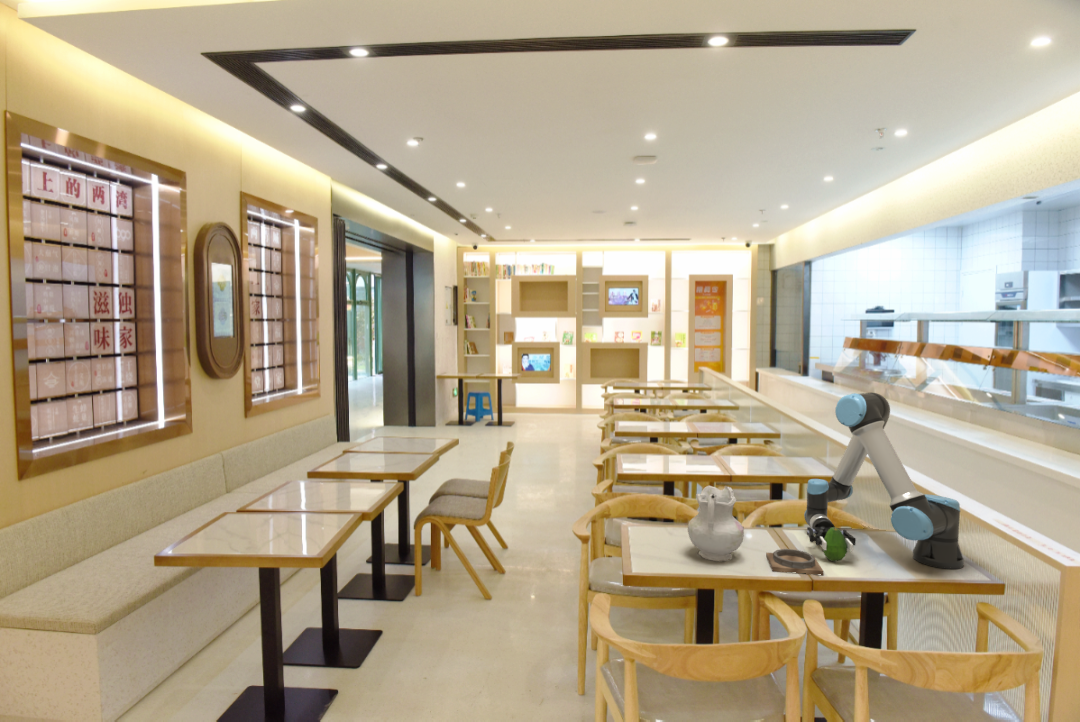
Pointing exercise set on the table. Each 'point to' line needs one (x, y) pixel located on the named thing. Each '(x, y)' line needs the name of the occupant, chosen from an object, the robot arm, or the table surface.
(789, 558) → the ring stand
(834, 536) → the avocado
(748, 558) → the table surface
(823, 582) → the table surface
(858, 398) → the robot arm
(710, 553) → the ceramic pitcher
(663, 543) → the table surface
